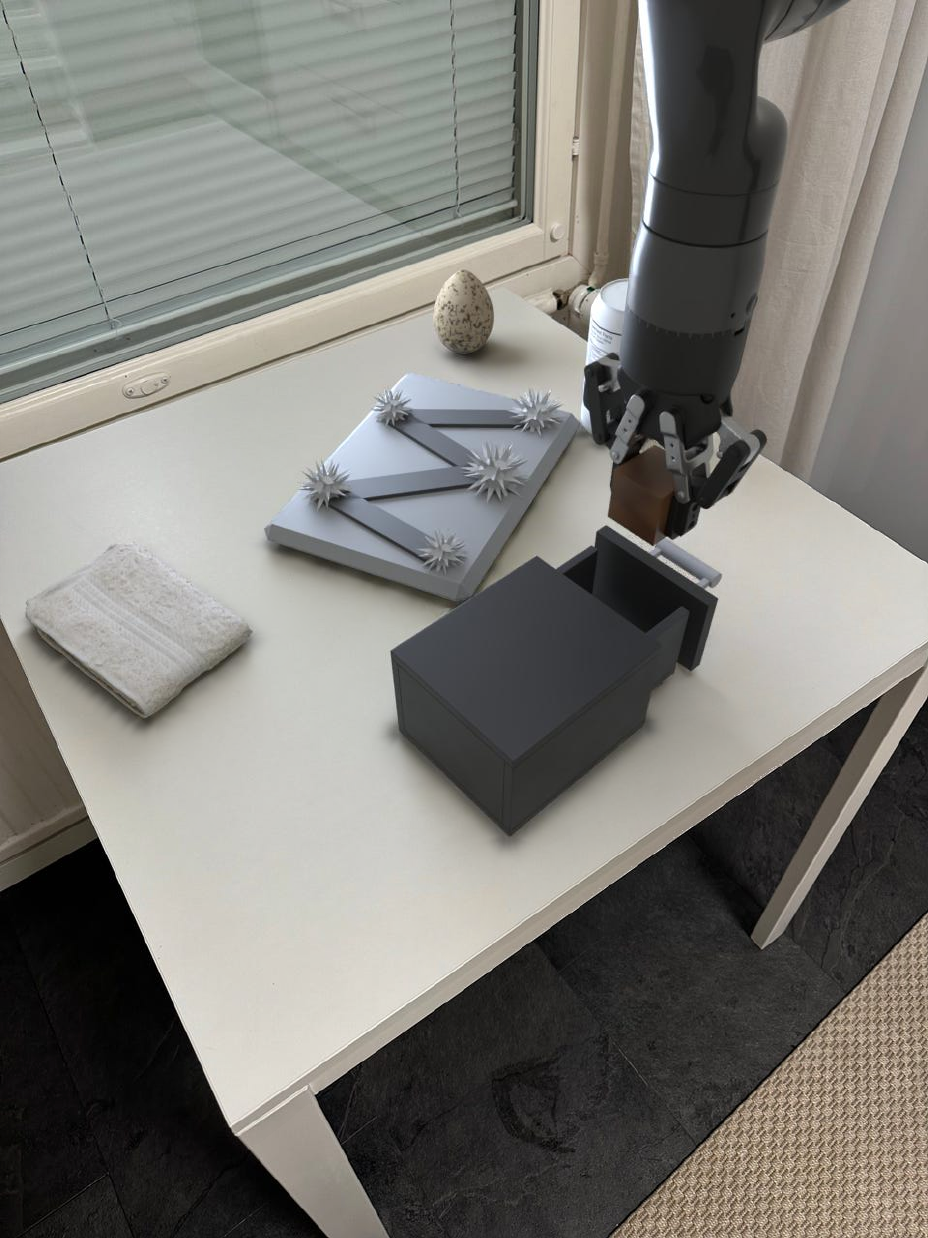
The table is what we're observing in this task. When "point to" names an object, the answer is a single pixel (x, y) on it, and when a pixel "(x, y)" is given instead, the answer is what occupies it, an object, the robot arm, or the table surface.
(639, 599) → the drawer
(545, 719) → the cabinet
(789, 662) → the table surface
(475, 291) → the decorative egg
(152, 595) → the washcloth
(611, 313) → the supplement can
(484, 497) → the grey zigzag star board
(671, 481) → the block
